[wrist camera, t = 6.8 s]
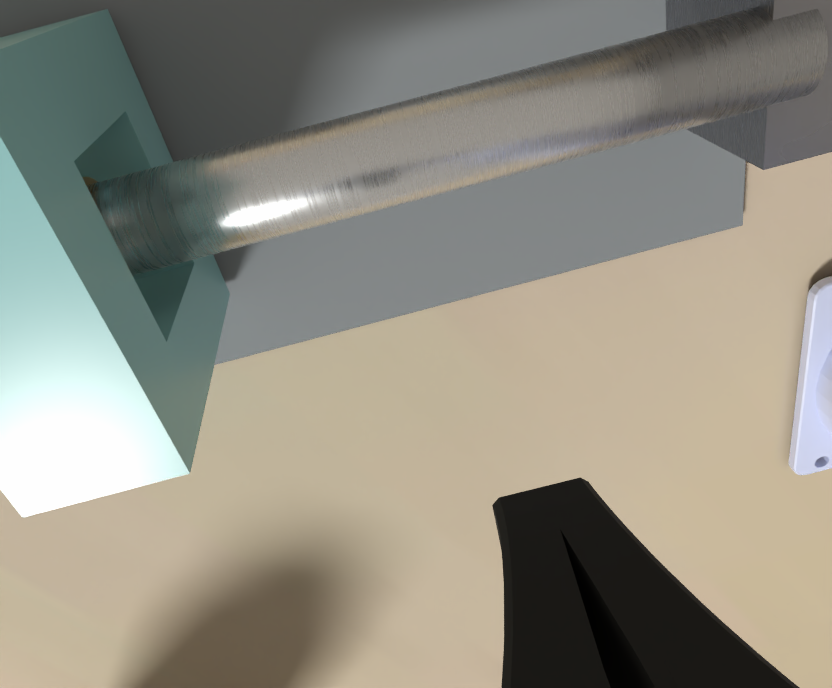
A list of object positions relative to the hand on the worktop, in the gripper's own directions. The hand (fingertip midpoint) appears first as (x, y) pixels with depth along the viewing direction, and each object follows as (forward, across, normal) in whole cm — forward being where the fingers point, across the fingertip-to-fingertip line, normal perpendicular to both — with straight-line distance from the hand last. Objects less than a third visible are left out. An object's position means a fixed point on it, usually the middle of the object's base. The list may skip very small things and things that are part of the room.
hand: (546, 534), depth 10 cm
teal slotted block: (+10, +7, -4) cm, 13 cm away
